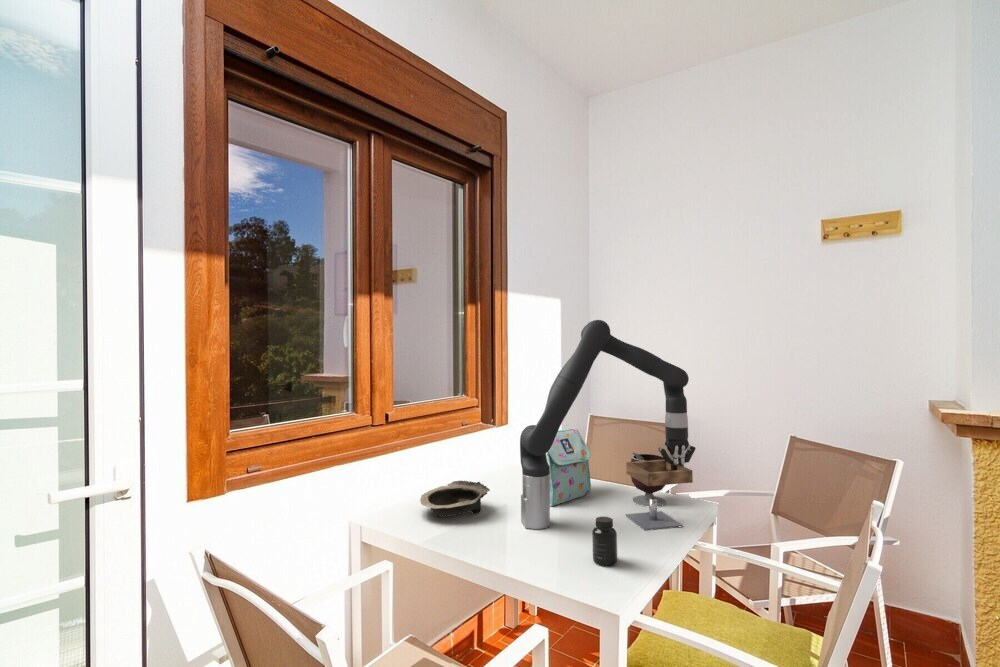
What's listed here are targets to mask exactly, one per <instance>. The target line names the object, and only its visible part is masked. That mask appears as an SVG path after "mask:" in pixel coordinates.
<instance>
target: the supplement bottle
mask: <svg viewBox="0 0 1000 667" xmlns="http://www.w3.org/2000/svg"><path fill="white" fill-rule="evenodd" d="M591 533H592V534H591V535H592V560H593V563H594V564H596V565H598V566H601V567H612V566H615V565H617V562H618V537H617V536H618V534H617V533H618V532H617V530H616V529H615V527H614V520H613V518H612V517H609V516H598V517H596V518H595V527H593V529H592V532H591Z"/></svg>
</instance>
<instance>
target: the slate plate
mask: <svg viewBox="0 0 1000 667" xmlns="http://www.w3.org/2000/svg"><path fill="white" fill-rule="evenodd" d="M625 517H626V518H627V517H628V518H627V519H628V520H630V521H631V522H633V523H634V525H637V526H638V527H639V526H640V527H639V528H641V529H642V530H643V529H644V530H643V531H651V530H650V529H654V530H662V529H661V528H665V529H671V528H670V527H676V528H680V527H679V526H683V527H684V524H682V523H681V522H679V521H677V519H674V518H673V517H671V515H668V514H667V513H666V512H664V511H662V510H660V511H659V510H657V520H656V521H652V520H650V519H649V511H647V512H636V513H626V514H625Z"/></svg>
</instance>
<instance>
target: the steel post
mask: <svg viewBox="0 0 1000 667" xmlns="http://www.w3.org/2000/svg"><path fill="white" fill-rule="evenodd" d="M648 508H649V511H648V512H649V519H650V520H652V521H656V520H657V511H658V507H657V499H656V498H649V507H648Z"/></svg>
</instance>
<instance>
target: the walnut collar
mask: <svg viewBox="0 0 1000 667" xmlns="http://www.w3.org/2000/svg"><path fill="white" fill-rule="evenodd" d="M625 467H626V468H625V469H626V475H628V476H629V477H631V476H632V477H633V478H635V479H637V480H638V481H640V482H642V483H644V484H645V485H647V486H657V485H665V486H667V485H680V484H693V482H694V480H693V470H692V469H690V468H688V467H685V466H684V467H683V466H681V465H679V464H678V463H677V470H675V471H671V464H670V463H667V462H666V461H665V460H651V461H637V462H631V461H626V465H625Z"/></svg>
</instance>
